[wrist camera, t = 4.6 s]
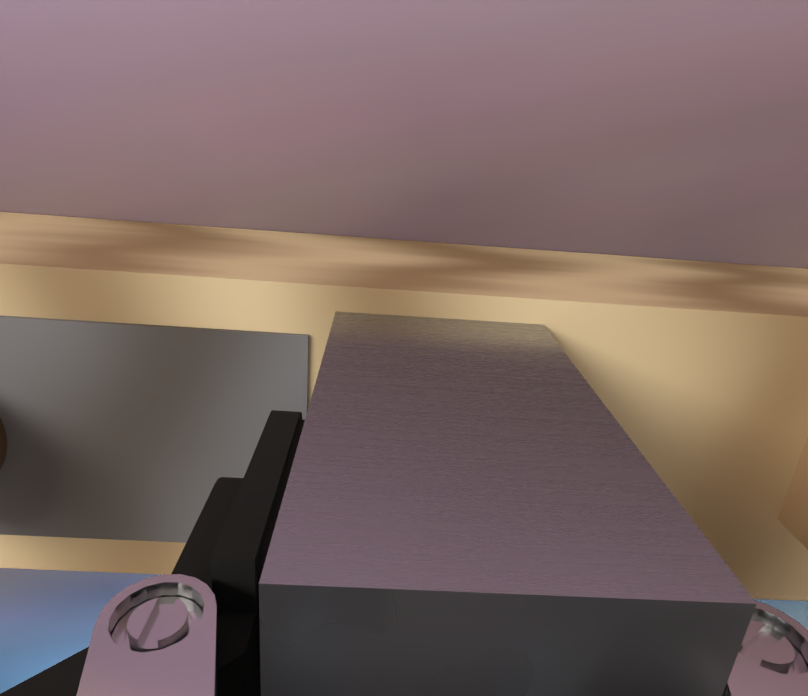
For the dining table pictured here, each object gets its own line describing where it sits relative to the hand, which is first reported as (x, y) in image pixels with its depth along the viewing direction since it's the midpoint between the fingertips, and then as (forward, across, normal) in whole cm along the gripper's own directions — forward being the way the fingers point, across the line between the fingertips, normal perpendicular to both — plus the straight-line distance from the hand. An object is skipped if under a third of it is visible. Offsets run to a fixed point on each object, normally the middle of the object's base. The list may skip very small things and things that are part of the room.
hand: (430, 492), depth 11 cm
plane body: (+6, 0, 0) cm, 6 cm away
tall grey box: (+1, 0, 0) cm, 1 cm away
